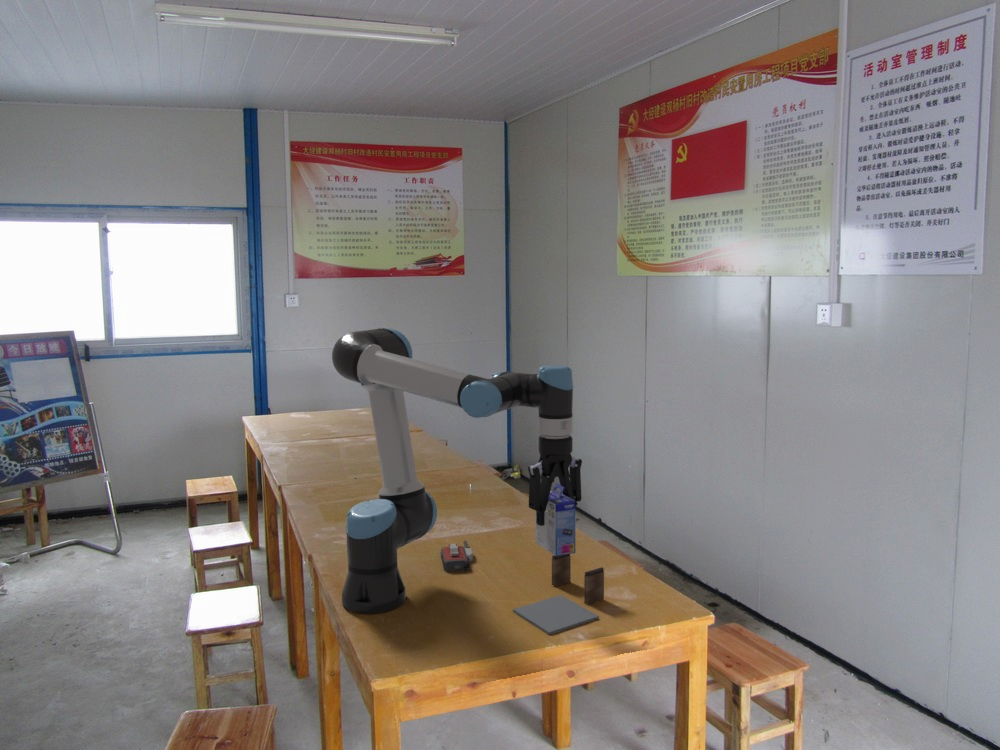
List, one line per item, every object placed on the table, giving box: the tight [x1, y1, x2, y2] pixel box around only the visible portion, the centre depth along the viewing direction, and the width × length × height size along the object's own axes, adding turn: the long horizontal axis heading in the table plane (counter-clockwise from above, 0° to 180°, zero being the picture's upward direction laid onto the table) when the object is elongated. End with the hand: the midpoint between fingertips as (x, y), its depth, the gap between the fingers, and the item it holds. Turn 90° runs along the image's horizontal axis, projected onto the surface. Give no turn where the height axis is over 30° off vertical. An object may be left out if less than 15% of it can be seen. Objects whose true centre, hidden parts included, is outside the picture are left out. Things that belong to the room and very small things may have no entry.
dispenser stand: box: [551, 554, 605, 606], centre depth 187 cm, size 5×14×8 cm, turn 33°
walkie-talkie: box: [440, 540, 474, 572], centre depth 211 cm, size 9×4×20 cm
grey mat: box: [512, 594, 600, 636], centre depth 175 cm, size 14×14×1 cm
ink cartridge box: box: [535, 483, 576, 556], centre depth 173 cm, size 10×6×14 cm, turn 25°
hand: (555, 535), depth 173 cm, fingers closed on ink cartridge box, 6 cm apart
